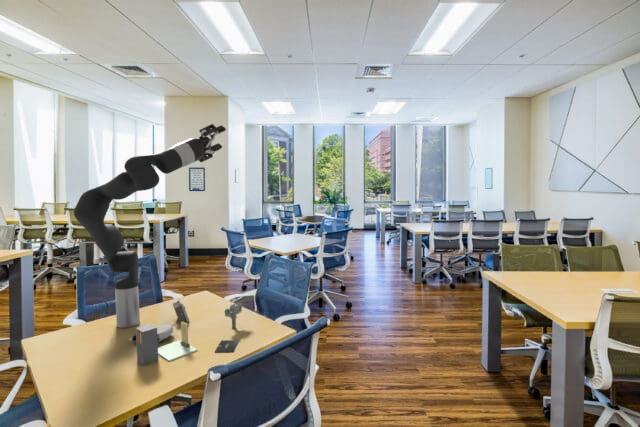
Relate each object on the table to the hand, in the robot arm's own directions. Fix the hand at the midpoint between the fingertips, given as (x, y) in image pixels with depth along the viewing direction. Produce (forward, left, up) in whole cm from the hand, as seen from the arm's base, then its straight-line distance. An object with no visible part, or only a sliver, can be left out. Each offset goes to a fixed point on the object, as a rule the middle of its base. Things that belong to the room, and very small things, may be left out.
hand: (222, 136), depth 129 cm
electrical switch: (-41, +2, -80) cm, 90 cm away
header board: (-13, -15, -80) cm, 82 cm away
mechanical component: (-14, +12, -80) cm, 82 cm away
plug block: (-13, -25, -80) cm, 84 cm away
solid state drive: (-1, 0, -80) cm, 80 cm away
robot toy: (-30, -15, -80) cm, 87 cm away
